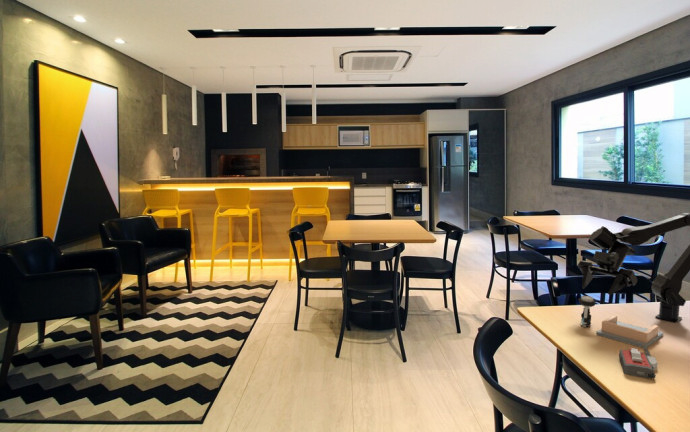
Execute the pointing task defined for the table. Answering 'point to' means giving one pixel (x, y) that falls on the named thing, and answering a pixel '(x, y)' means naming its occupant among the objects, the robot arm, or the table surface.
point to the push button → (586, 309)
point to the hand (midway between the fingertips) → (595, 290)
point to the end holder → (629, 332)
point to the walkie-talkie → (638, 363)
